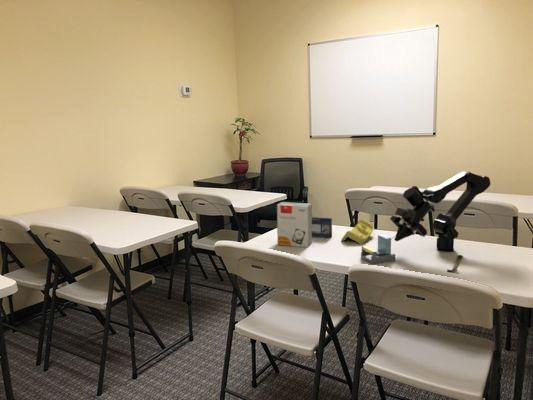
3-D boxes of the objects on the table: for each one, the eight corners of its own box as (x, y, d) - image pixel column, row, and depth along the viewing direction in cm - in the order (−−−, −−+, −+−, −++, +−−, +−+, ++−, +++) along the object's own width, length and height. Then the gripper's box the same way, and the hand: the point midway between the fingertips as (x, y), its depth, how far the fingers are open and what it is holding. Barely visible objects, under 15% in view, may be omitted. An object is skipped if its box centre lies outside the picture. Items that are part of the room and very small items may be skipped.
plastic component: (364, 239, 194) (345, 229, 197) (357, 252, 197) (340, 241, 201) (376, 227, 210) (359, 217, 214) (370, 238, 213) (353, 229, 217)
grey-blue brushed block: (382, 252, 176) (382, 234, 175) (390, 256, 171) (391, 237, 169) (371, 253, 175) (371, 235, 173) (379, 258, 169) (379, 239, 168)
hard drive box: (277, 245, 198) (275, 204, 194) (282, 240, 205) (281, 201, 201) (308, 247, 192) (307, 206, 188) (312, 243, 199) (312, 203, 195)
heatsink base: (383, 254, 178) (383, 243, 178) (395, 260, 170) (395, 248, 169) (360, 257, 175) (360, 246, 174) (372, 264, 167) (372, 252, 166)
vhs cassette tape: (296, 236, 213) (295, 217, 211) (297, 234, 215) (297, 216, 214) (331, 238, 206) (331, 219, 205) (332, 236, 209) (332, 217, 207)
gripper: (394, 197, 181) (371, 224, 180) (422, 204, 164) (397, 234, 162) (408, 213, 185) (387, 239, 184) (437, 221, 167) (413, 251, 166)
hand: (395, 240), depth 174 cm, fingers closed
